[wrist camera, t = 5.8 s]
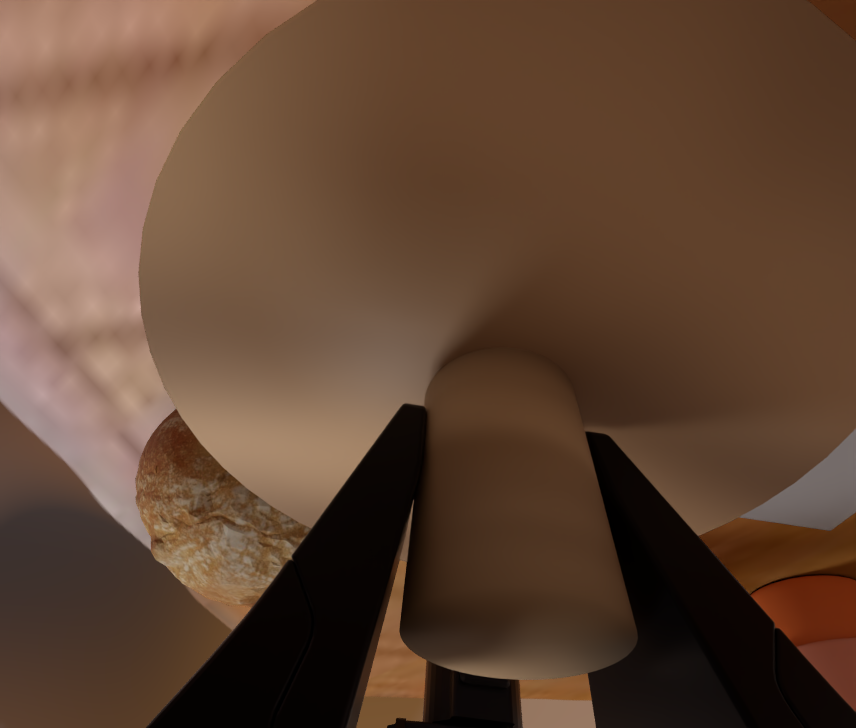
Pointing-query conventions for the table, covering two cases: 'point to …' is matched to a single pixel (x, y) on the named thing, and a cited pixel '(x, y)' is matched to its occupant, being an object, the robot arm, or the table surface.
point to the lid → (517, 284)
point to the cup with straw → (818, 624)
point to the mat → (817, 493)
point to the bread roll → (209, 520)
